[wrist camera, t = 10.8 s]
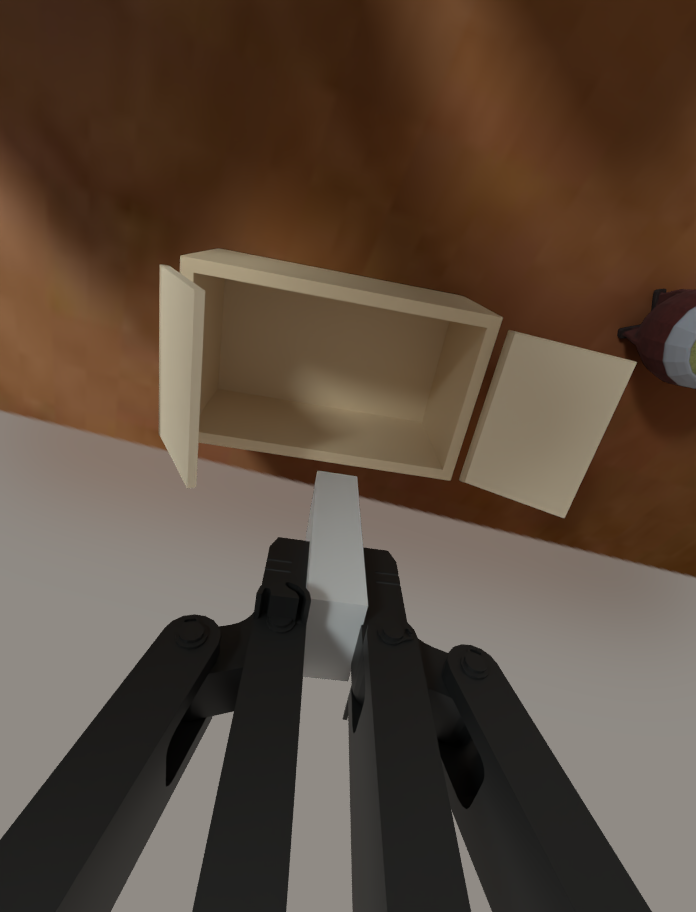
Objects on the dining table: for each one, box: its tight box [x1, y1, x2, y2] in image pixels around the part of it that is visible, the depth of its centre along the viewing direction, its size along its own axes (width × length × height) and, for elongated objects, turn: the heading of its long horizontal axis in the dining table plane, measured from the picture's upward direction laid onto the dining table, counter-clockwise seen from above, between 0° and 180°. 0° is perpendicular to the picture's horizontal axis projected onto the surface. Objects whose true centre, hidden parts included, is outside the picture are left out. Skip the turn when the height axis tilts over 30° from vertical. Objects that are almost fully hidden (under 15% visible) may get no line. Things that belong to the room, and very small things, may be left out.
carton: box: [180, 248, 503, 481], centre depth 35 cm, size 20×12×10 cm, turn 80°
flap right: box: [459, 330, 637, 518], centre depth 30 cm, size 1×11×7 cm
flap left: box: [159, 264, 205, 489], centre depth 27 cm, size 1×11×7 cm, turn 171°
